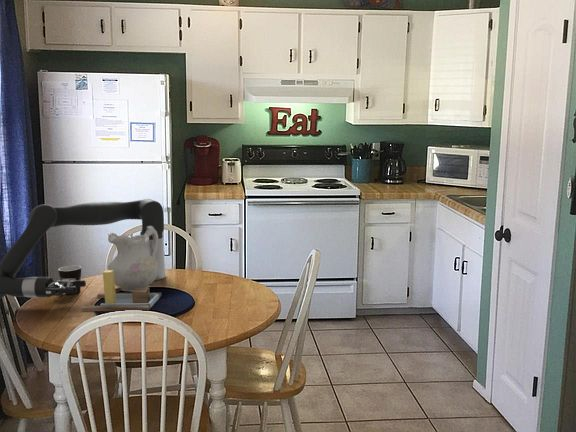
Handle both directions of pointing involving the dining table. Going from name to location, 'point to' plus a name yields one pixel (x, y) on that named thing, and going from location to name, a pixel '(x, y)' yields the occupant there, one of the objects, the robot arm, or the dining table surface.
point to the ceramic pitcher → (134, 260)
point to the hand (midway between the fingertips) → (81, 286)
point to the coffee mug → (71, 275)
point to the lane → (113, 308)
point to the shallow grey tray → (121, 299)
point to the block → (141, 295)
